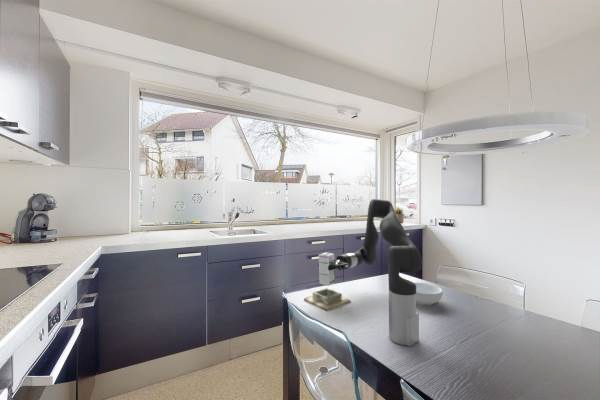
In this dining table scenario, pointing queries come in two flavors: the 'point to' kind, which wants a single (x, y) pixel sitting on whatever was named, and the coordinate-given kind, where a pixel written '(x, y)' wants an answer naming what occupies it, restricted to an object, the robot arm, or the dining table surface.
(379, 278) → the dining table surface
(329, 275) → the syrup box
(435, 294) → the cereal bowl
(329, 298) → the socket
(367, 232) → the robot arm
